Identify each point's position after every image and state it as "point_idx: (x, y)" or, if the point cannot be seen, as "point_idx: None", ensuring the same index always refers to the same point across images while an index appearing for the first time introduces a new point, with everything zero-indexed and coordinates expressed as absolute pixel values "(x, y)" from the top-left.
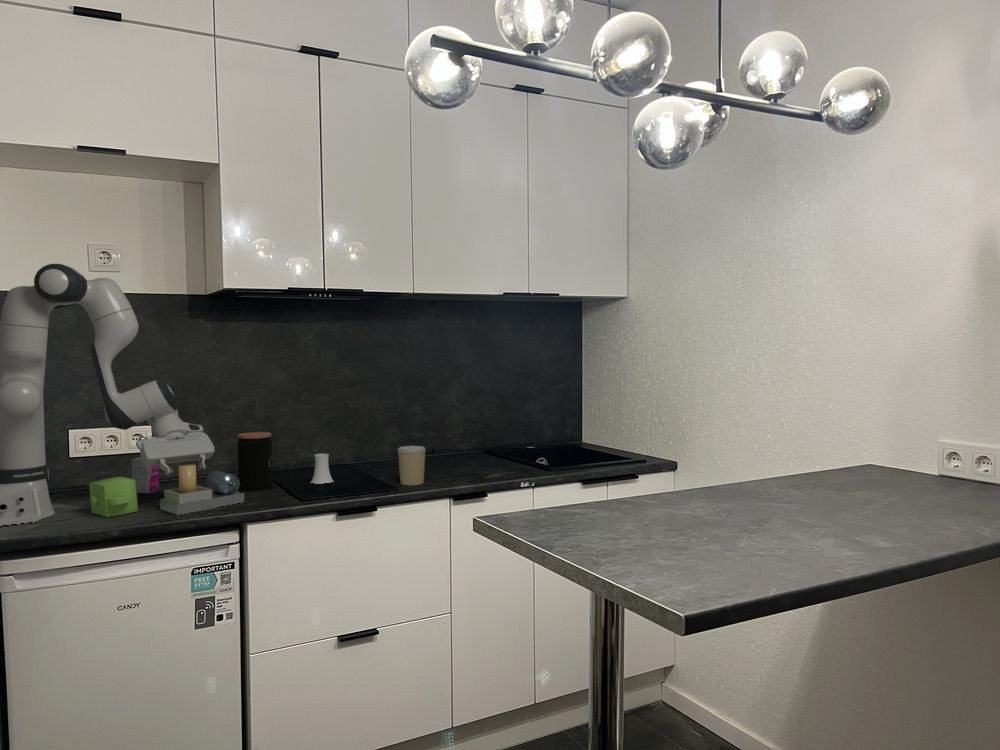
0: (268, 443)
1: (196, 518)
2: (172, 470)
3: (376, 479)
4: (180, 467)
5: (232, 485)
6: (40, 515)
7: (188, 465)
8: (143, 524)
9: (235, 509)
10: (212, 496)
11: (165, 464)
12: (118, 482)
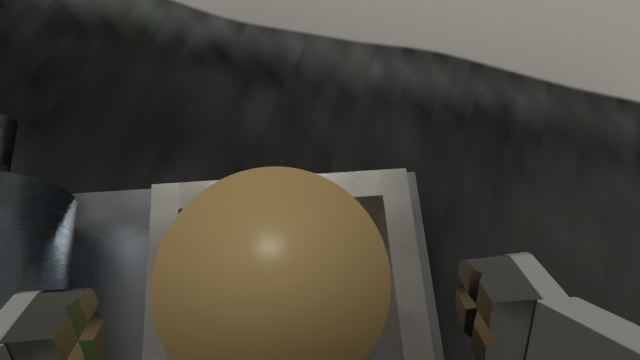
0: None
1: (352, 65)
2: (477, 258)
3: None
4: (381, 241)
5: (11, 127)
6: None
7: (248, 289)
8: (585, 127)
9: (126, 105)
10: (144, 249)
11: (604, 324)
12: None
